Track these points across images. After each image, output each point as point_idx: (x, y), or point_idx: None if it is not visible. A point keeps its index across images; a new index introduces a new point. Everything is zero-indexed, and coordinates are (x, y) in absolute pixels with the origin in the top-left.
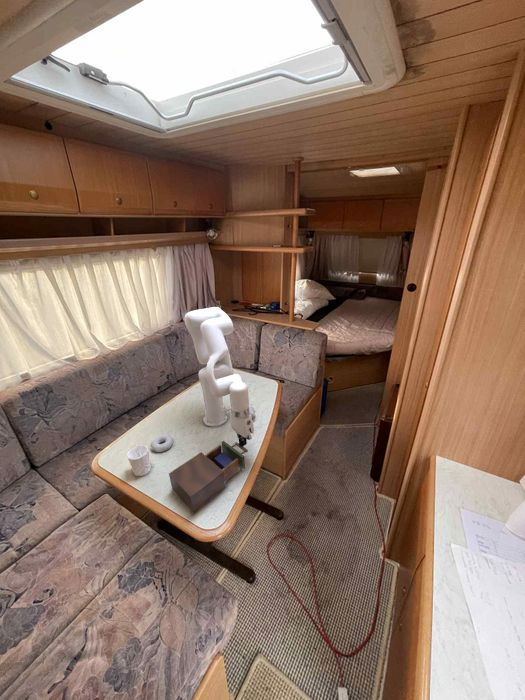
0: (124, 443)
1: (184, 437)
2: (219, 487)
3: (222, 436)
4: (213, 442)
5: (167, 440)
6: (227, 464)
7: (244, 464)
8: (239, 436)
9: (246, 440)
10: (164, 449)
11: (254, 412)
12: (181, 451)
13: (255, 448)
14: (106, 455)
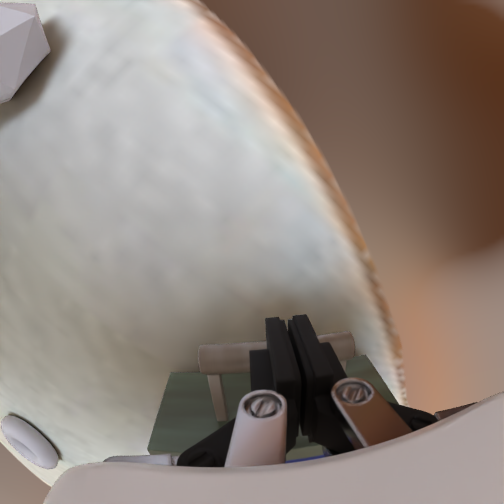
0: (14, 452)
1: (9, 386)
2: None
3: (41, 282)
4: (62, 345)
5: (27, 446)
6: (319, 457)
7: (378, 376)
8: (285, 462)
9: (316, 337)
10: (55, 458)
11: (34, 8)
12: (70, 435)
13: (281, 181)
14: (42, 479)
